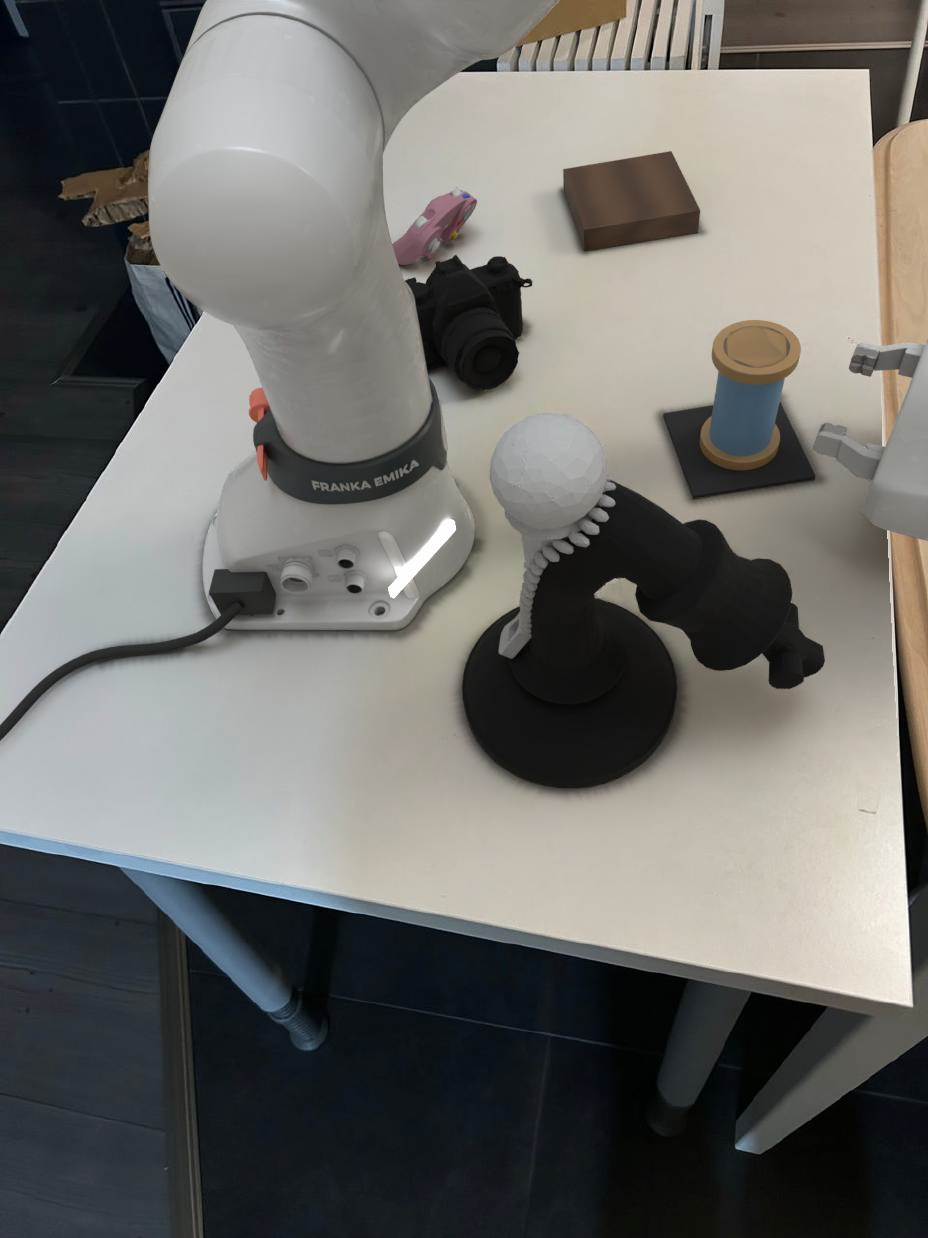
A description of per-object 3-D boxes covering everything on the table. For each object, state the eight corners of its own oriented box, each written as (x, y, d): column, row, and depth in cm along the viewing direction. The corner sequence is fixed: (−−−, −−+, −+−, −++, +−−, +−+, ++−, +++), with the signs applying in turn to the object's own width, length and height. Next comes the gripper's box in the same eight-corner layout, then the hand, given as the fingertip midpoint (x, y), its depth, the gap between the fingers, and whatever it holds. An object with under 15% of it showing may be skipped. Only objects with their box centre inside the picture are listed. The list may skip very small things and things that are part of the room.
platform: (583, 251, 96) (583, 229, 94) (563, 190, 103) (563, 168, 101) (698, 232, 96) (700, 209, 94) (669, 172, 103) (671, 150, 101)
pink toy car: (416, 286, 98) (431, 241, 92) (384, 258, 98) (396, 211, 92) (471, 238, 102) (489, 192, 96) (440, 211, 102) (456, 163, 96)
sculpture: (478, 599, 71) (436, 331, 51) (796, 614, 67) (888, 332, 47) (449, 778, 63) (384, 543, 42) (812, 809, 59) (932, 565, 38)
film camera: (411, 422, 84) (394, 341, 76) (376, 362, 89) (357, 281, 82) (561, 367, 86) (559, 283, 78) (518, 311, 91) (512, 228, 84)
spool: (711, 476, 75) (726, 380, 67) (691, 423, 79) (703, 326, 71) (788, 464, 75) (813, 366, 67) (764, 411, 79) (785, 313, 71)
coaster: (692, 499, 75) (693, 495, 74) (663, 416, 81) (663, 412, 80) (815, 479, 75) (815, 476, 74) (776, 398, 80) (777, 394, 80)
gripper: (1079, 316, 67) (881, 278, 72) (1027, 513, 57) (803, 454, 62) (1044, 384, 72) (862, 345, 77) (991, 575, 62) (787, 516, 67)
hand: (835, 395), depth 69 cm, fingers open, 8 cm apart
